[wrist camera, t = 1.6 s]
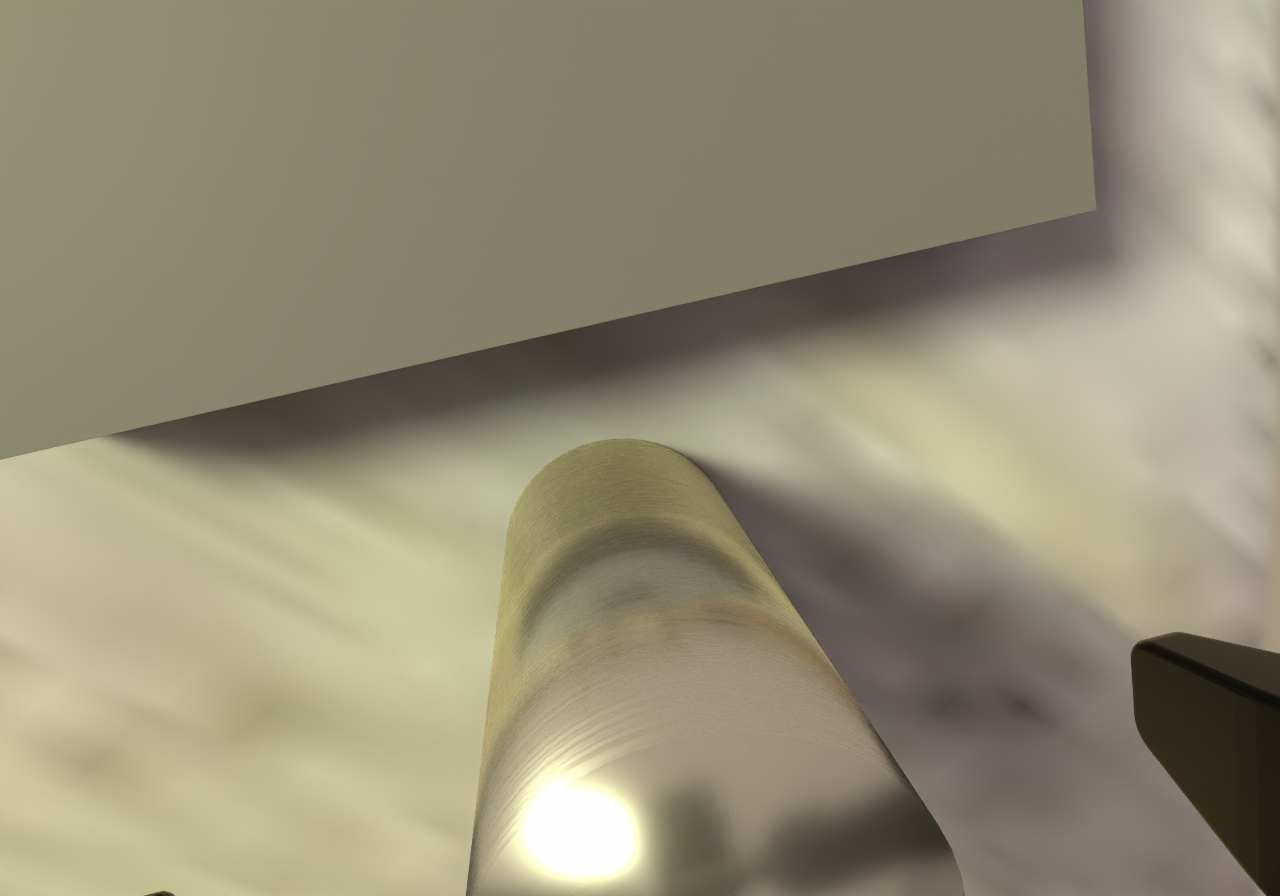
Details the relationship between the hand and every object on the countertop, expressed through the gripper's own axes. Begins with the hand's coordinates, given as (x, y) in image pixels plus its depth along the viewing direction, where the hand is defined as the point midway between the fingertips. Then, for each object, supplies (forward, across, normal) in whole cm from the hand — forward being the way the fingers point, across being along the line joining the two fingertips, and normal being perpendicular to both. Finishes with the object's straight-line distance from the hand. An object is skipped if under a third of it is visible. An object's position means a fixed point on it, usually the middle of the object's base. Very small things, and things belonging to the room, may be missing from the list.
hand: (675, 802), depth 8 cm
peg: (+6, 0, 0) cm, 6 cm away
